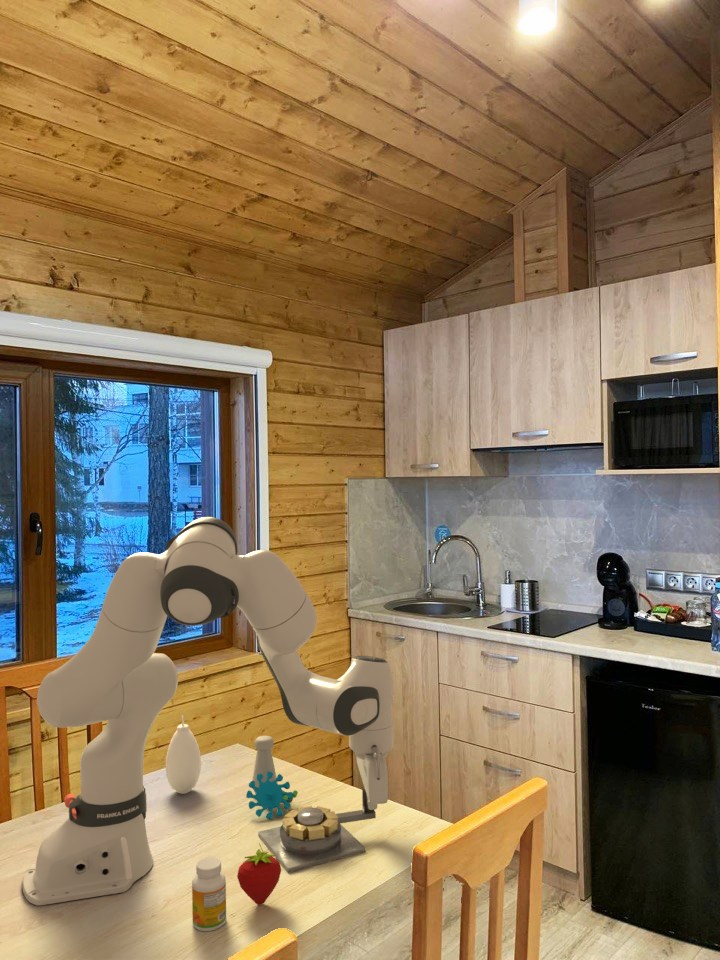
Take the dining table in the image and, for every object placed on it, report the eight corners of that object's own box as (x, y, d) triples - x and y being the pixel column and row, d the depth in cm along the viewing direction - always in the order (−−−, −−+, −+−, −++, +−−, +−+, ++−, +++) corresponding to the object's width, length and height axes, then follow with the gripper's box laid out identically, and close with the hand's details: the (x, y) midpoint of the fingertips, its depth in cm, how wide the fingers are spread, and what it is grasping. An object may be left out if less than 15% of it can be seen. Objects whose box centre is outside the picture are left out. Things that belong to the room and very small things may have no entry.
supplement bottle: (190, 916, 125) (189, 858, 125) (222, 909, 127) (222, 852, 126) (195, 935, 120) (194, 874, 120) (229, 927, 122) (228, 867, 121)
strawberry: (233, 900, 129) (232, 842, 129) (275, 889, 132) (274, 833, 132) (243, 919, 124) (242, 858, 124) (286, 907, 127) (285, 848, 127)
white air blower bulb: (196, 799, 169) (195, 719, 169) (161, 799, 170) (160, 719, 169) (204, 785, 177) (203, 708, 177) (172, 785, 177) (170, 708, 177)
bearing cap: (288, 872, 138) (287, 840, 138) (258, 835, 152) (258, 806, 152) (365, 851, 145) (365, 820, 145) (330, 818, 160) (329, 789, 159)
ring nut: (382, 829, 148) (382, 797, 148) (290, 843, 142) (289, 810, 142) (366, 806, 158) (366, 776, 158) (279, 819, 152) (279, 788, 152)
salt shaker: (250, 790, 174) (249, 734, 174) (274, 787, 176) (274, 731, 175) (254, 801, 168) (253, 743, 168) (279, 797, 170) (279, 740, 170)
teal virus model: (245, 816, 157) (247, 769, 164) (242, 827, 161) (244, 780, 168) (298, 817, 160) (298, 771, 167) (293, 828, 164) (293, 782, 171)
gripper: (395, 755, 139) (396, 830, 139) (379, 720, 160) (380, 786, 160) (361, 757, 139) (362, 832, 139) (350, 722, 159) (350, 788, 159)
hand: (372, 807), depth 149 cm, fingers closed
